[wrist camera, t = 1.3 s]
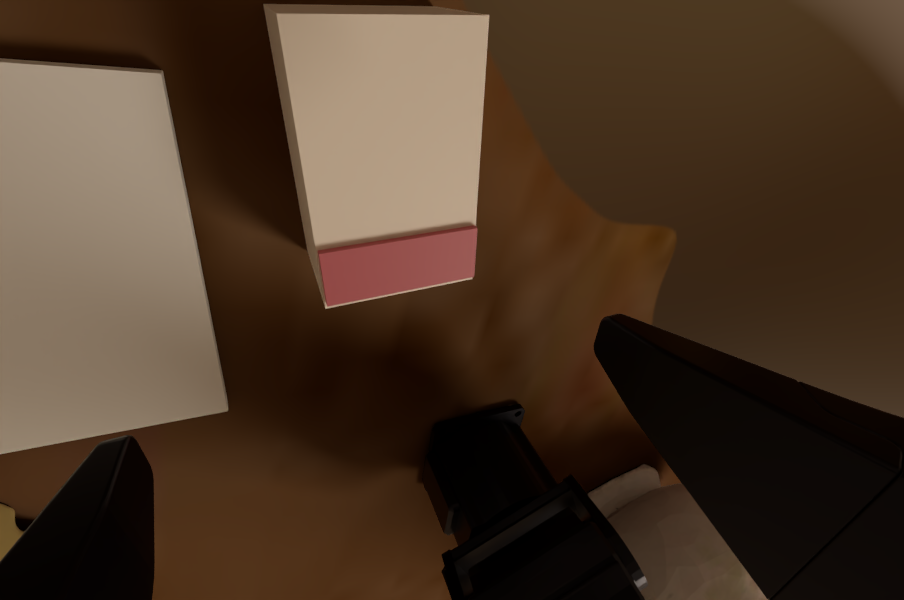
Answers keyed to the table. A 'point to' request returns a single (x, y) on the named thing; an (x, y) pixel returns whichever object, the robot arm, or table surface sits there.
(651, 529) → the ceramic pitcher
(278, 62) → the card box
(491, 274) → the table surface
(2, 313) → the grey mat
